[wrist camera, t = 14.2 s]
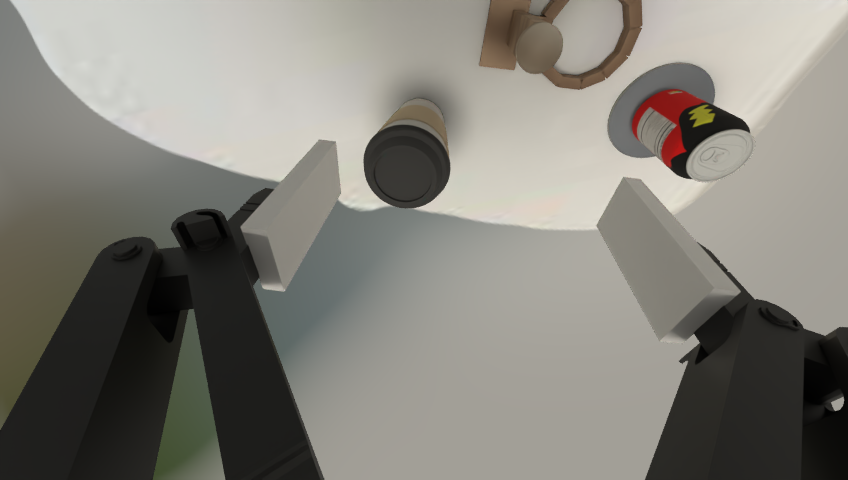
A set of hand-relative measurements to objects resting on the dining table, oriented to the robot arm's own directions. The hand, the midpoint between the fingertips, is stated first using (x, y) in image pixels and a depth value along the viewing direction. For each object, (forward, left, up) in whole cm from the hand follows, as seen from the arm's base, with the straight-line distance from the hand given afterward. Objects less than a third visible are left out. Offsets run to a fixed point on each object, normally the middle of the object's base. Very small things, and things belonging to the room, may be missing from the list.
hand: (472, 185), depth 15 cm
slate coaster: (+3, +24, -29) cm, 38 cm away
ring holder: (-4, +9, -29) cm, 30 cm away
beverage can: (+3, +24, -28) cm, 37 cm away
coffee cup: (+8, -5, -29) cm, 30 cm away
